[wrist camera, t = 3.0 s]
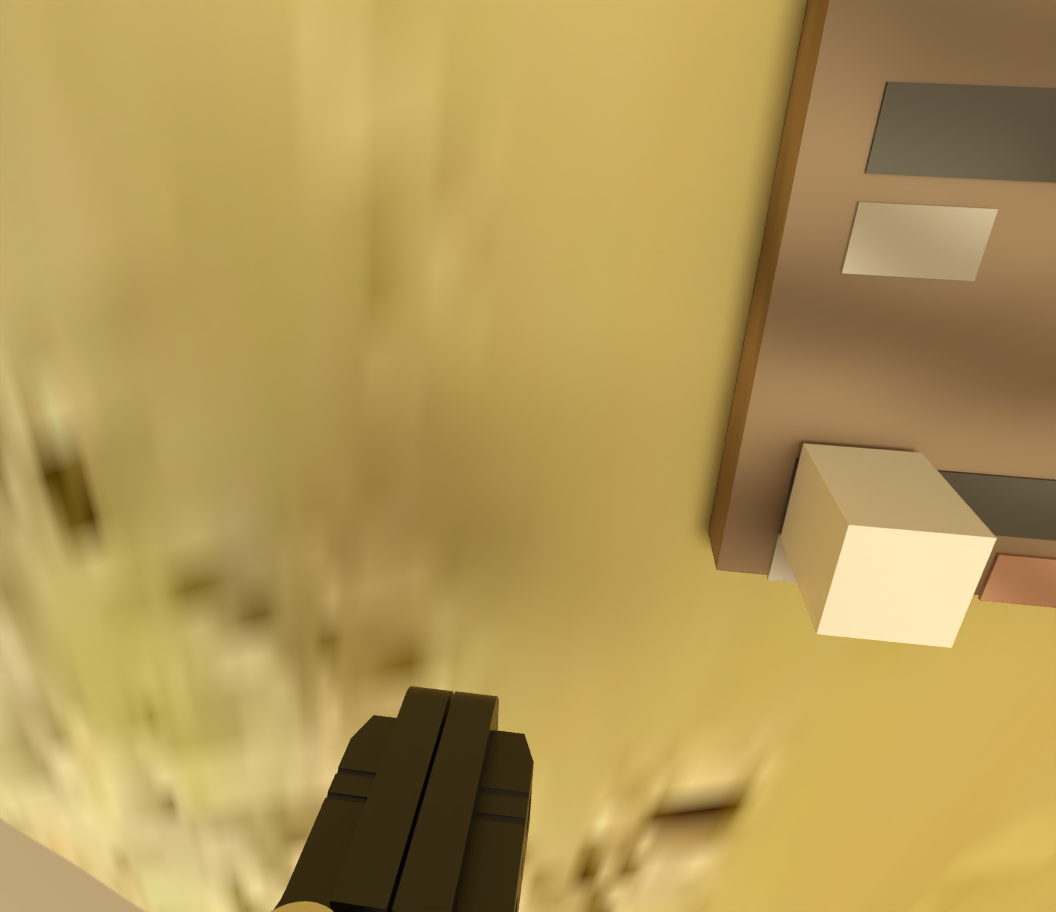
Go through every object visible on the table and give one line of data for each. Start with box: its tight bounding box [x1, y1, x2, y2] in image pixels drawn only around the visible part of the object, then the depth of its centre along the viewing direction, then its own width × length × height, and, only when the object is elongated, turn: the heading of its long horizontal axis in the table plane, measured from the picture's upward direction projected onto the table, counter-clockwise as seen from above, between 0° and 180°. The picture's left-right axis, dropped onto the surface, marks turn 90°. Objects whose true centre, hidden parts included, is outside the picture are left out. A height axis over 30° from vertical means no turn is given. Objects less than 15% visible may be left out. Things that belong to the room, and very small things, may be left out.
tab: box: [780, 443, 997, 648], centre depth 17 cm, size 3×3×4 cm
